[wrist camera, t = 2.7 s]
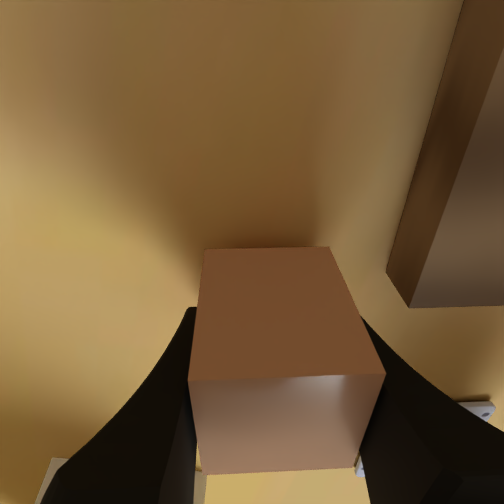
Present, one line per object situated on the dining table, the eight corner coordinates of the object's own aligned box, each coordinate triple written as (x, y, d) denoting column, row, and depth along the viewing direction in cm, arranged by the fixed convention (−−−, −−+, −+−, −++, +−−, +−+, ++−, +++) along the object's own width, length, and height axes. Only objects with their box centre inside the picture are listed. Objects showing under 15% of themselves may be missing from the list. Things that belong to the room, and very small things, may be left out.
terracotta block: (315, 333, 16) (352, 467, 11) (212, 336, 16) (202, 475, 11) (329, 246, 13) (386, 373, 8) (204, 249, 13) (187, 381, 8)
